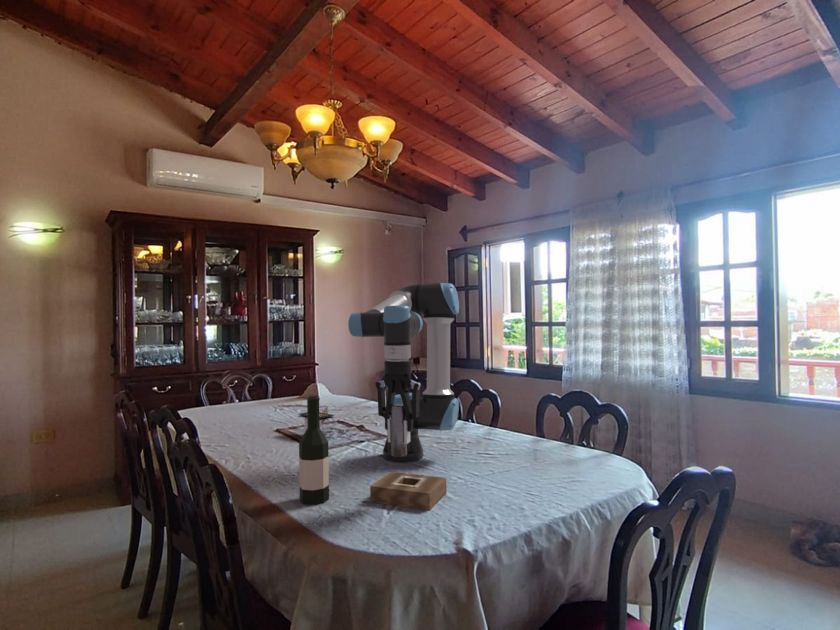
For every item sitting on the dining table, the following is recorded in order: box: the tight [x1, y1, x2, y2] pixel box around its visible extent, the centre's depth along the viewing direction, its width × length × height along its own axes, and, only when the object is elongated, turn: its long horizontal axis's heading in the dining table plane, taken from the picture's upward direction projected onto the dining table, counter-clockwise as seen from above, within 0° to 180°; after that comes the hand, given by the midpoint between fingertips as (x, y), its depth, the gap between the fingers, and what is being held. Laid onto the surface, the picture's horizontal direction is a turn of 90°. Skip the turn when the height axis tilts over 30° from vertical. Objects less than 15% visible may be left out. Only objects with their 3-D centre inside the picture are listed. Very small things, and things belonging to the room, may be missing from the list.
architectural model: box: [297, 406, 335, 432], centre depth 224 cm, size 35×28×14 cm
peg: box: [391, 404, 407, 457], centre depth 145 cm, size 4×4×14 cm
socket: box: [369, 471, 447, 511], centre depth 148 cm, size 18×14×5 cm
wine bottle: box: [298, 394, 330, 506], centre depth 147 cm, size 8×8×30 cm
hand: (399, 441), depth 145 cm, fingers closed on peg, 4 cm apart
